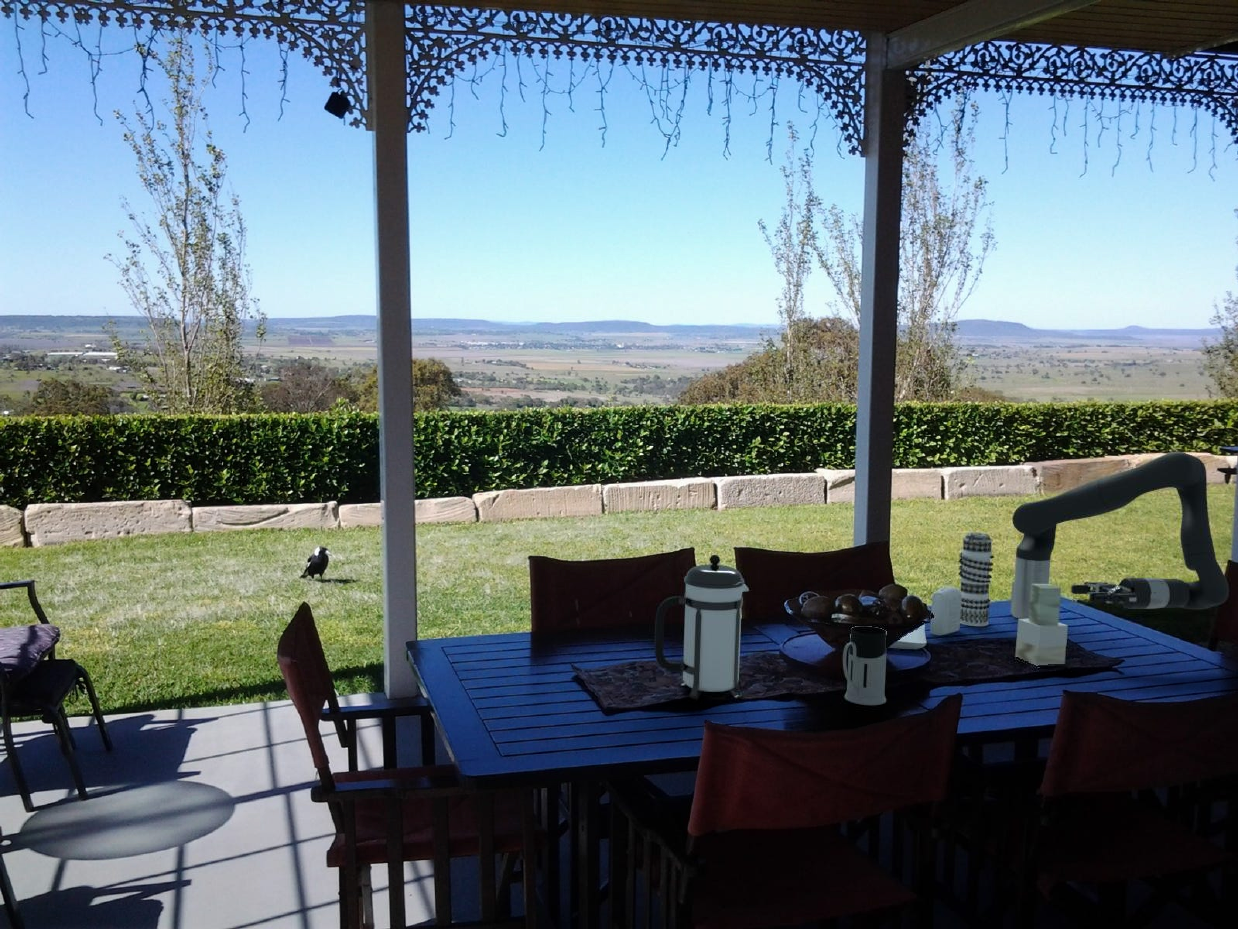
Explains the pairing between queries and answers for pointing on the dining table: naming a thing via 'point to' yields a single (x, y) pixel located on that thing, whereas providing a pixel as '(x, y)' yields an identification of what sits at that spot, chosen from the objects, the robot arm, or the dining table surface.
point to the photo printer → (946, 611)
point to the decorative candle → (975, 579)
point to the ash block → (1040, 654)
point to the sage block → (1044, 604)
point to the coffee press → (707, 629)
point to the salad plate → (912, 640)
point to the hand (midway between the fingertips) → (1081, 593)
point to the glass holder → (866, 665)
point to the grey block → (1042, 634)
